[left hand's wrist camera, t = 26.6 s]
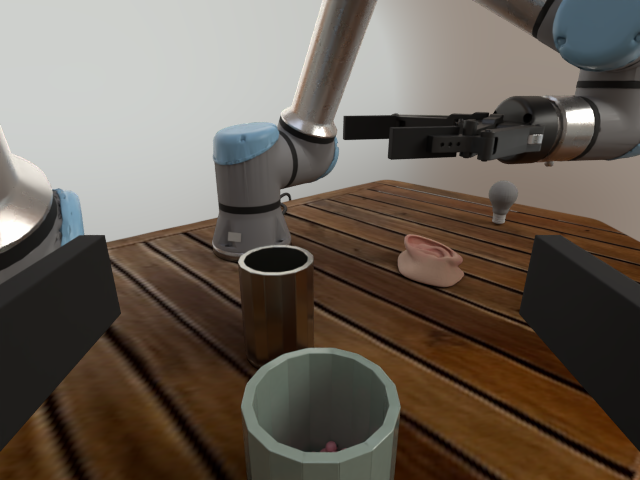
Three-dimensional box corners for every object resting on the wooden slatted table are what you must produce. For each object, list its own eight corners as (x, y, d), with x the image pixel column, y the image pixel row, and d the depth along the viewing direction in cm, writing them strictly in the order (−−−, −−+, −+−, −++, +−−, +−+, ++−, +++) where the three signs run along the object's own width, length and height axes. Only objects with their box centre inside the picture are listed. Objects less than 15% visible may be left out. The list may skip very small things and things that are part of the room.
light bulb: (489, 227, 90) (496, 183, 86) (480, 219, 95) (486, 177, 92) (516, 227, 90) (525, 184, 86) (506, 219, 95) (513, 178, 92)
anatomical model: (467, 267, 61) (391, 258, 64) (464, 290, 62) (390, 280, 65) (466, 238, 72) (402, 231, 76) (463, 258, 74) (401, 250, 77)
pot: (225, 509, 30) (211, 394, 26) (320, 432, 37) (320, 331, 33) (320, 630, 24) (320, 500, 20) (415, 509, 30) (429, 394, 26)
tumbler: (232, 349, 49) (224, 258, 44) (284, 323, 54) (281, 239, 50) (275, 383, 43) (269, 282, 39) (327, 350, 49) (328, 258, 44)
